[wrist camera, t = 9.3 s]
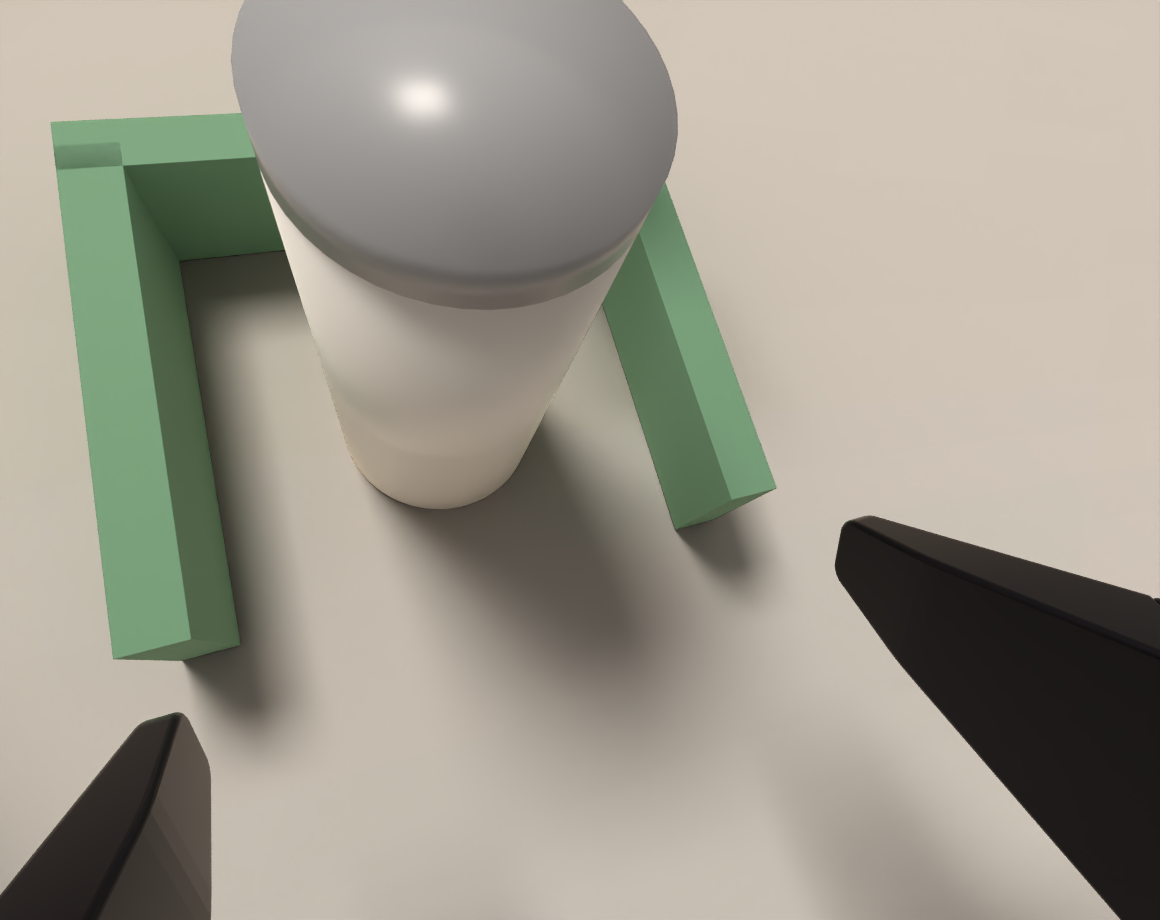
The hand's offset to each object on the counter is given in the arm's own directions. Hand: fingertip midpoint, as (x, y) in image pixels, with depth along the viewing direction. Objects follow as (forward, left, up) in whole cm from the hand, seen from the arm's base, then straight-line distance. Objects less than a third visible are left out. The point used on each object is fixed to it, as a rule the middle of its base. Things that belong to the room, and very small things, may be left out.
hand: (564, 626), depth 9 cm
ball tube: (+2, -6, -8) cm, 10 cm away
